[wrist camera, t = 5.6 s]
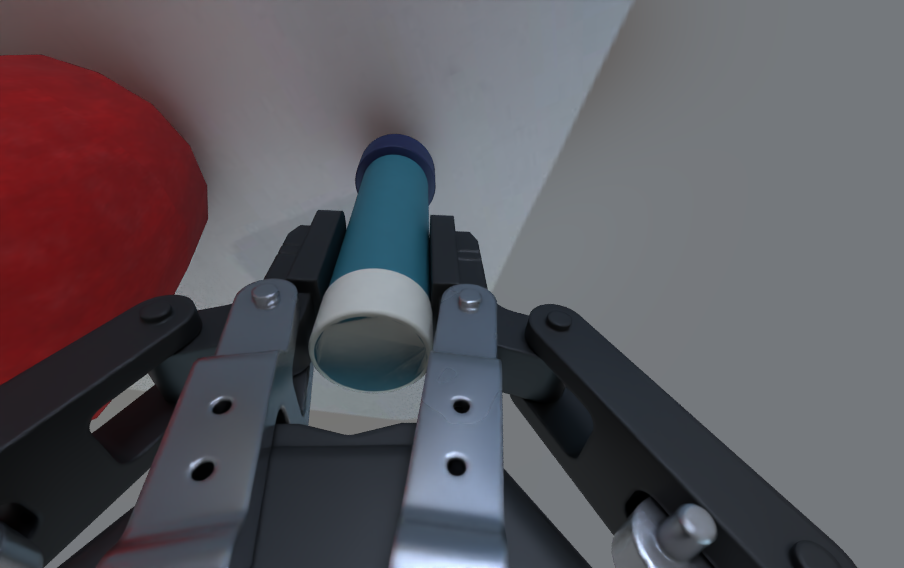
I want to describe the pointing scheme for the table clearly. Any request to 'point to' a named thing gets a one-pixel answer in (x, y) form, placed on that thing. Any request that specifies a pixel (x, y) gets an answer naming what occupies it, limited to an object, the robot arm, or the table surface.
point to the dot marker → (381, 276)
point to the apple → (85, 206)
